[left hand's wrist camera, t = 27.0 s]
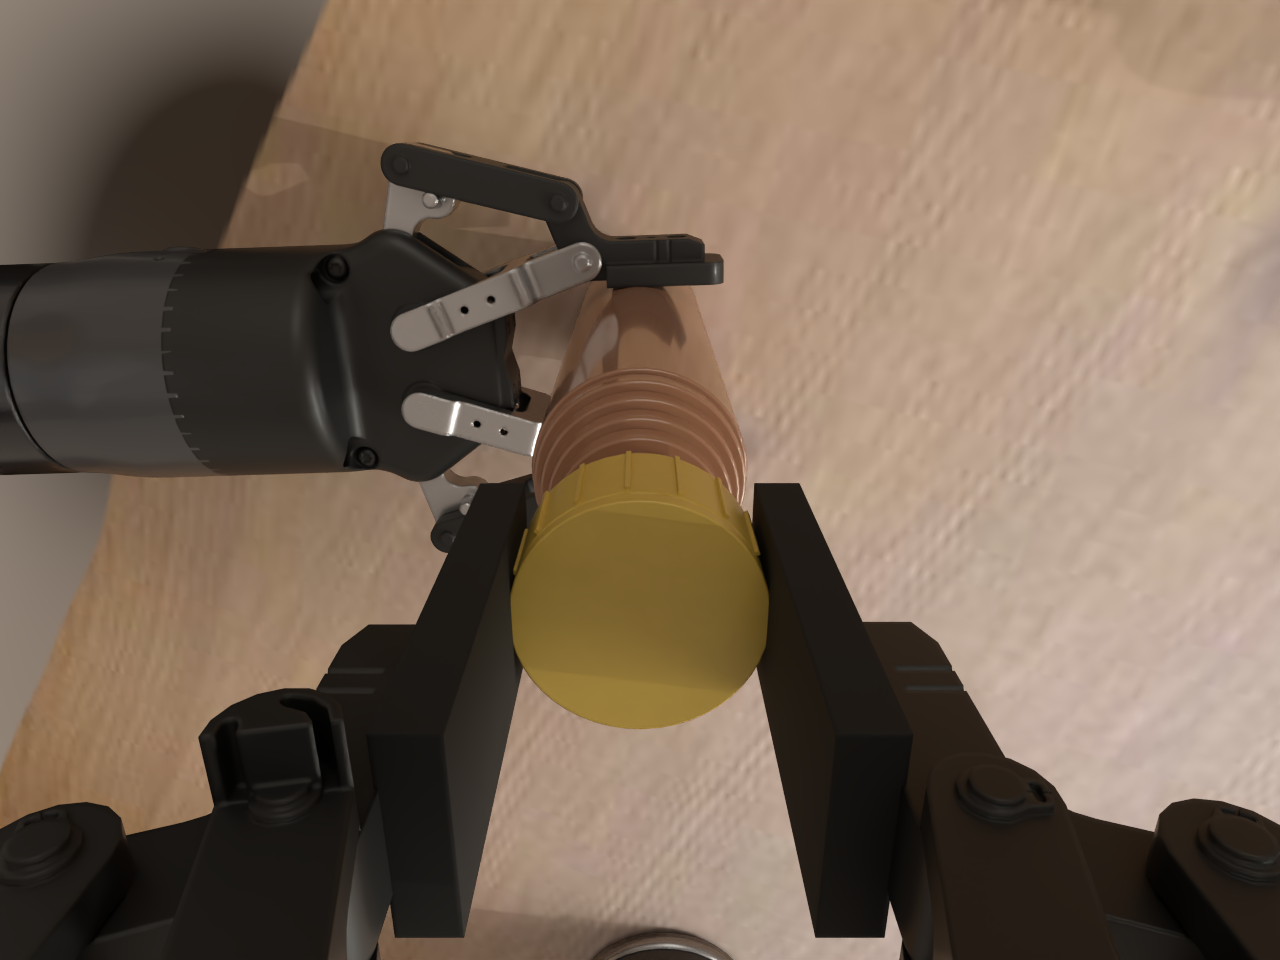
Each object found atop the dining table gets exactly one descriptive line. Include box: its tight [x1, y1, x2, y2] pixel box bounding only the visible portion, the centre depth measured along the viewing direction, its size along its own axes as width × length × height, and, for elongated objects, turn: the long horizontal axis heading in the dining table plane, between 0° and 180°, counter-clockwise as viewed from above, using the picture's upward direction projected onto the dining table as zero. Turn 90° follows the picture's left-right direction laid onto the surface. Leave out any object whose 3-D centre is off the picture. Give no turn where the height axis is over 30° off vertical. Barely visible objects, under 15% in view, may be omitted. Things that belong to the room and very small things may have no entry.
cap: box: [510, 451, 769, 729], centre depth 14 cm, size 4×4×2 cm
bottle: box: [532, 281, 747, 507], centre depth 24 cm, size 5×5×23 cm
